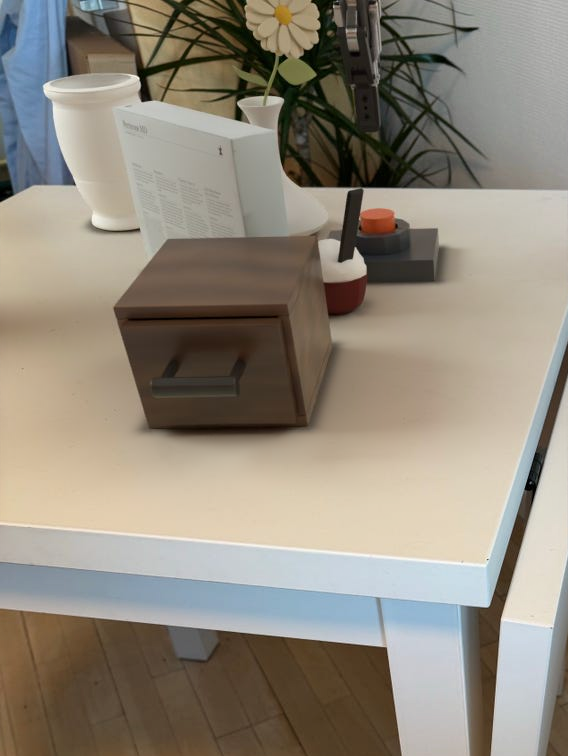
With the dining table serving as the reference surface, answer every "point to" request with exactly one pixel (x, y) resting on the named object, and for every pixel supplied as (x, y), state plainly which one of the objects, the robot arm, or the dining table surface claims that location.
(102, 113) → the jar
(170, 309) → the cabinet
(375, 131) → the robot arm
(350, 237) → the cocoa
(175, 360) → the drawer
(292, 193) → the flower in vase
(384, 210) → the button
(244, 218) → the skincare box
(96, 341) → the dining table surface
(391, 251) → the console
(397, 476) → the dining table surface
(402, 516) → the dining table surface
